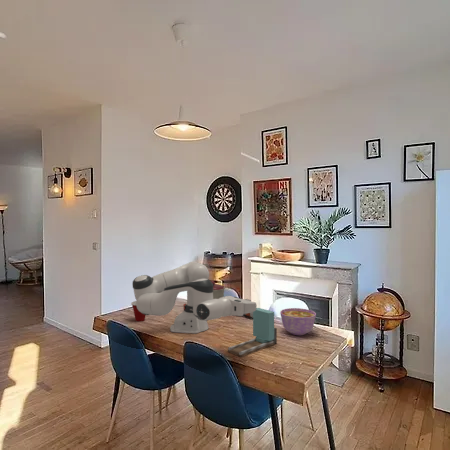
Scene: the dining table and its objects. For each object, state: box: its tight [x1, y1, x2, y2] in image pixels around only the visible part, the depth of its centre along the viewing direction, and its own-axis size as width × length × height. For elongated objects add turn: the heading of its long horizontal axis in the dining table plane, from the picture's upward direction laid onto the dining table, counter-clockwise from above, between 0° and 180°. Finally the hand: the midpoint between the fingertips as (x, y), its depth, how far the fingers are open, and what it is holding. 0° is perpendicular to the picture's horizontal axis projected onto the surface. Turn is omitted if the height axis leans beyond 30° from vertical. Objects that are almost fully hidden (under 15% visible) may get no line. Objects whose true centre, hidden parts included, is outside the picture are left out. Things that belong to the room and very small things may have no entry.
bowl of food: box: [279, 307, 317, 336], centre depth 190 cm, size 20×20×12 cm
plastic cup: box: [130, 300, 147, 322], centre depth 214 cm, size 11×11×12 cm
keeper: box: [252, 307, 275, 343], centre depth 174 cm, size 5×11×16 cm, turn 42°
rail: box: [227, 327, 278, 358], centre depth 169 cm, size 26×9×8 cm, turn 132°
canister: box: [210, 280, 226, 299], centre depth 237 cm, size 18×18×21 cm
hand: (248, 301), depth 166 cm, fingers closed
